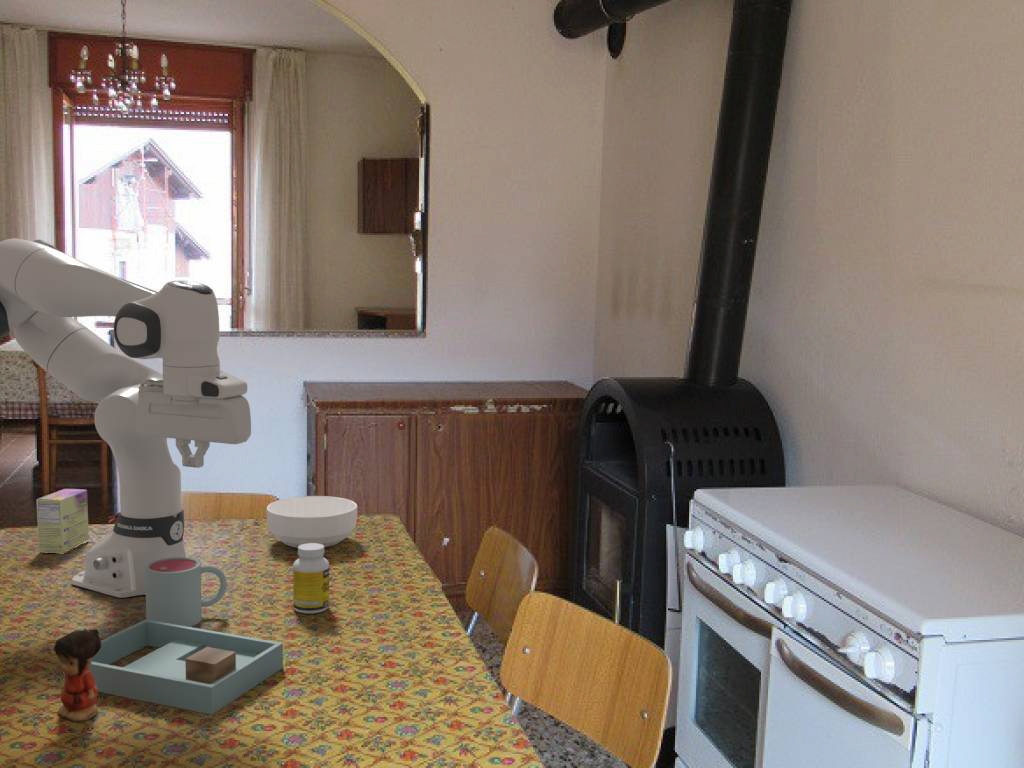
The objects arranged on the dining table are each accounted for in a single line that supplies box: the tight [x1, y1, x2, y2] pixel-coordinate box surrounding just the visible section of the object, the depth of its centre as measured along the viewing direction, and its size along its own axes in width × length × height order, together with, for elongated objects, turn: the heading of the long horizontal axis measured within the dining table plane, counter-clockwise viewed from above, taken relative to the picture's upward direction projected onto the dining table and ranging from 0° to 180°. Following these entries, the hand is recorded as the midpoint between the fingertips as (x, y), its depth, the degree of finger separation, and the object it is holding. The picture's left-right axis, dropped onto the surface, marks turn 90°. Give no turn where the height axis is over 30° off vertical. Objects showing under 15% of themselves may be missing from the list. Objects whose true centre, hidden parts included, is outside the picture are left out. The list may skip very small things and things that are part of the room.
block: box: [185, 647, 236, 684], centre depth 150 cm, size 5×5×4 cm
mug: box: [145, 556, 228, 627], centre depth 181 cm, size 14×9×10 cm
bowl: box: [266, 495, 358, 549], centre depth 229 cm, size 20×20×8 cm
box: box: [36, 488, 90, 554], centre depth 222 cm, size 10×6×12 cm, turn 172°
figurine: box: [53, 628, 101, 723], centre depth 143 cm, size 6×6×12 cm
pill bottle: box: [292, 543, 330, 615], centre depth 187 cm, size 6×6×12 cm
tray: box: [63, 619, 284, 716], centre depth 157 cm, size 26×18×4 cm
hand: (193, 466), depth 169 cm, fingers closed
